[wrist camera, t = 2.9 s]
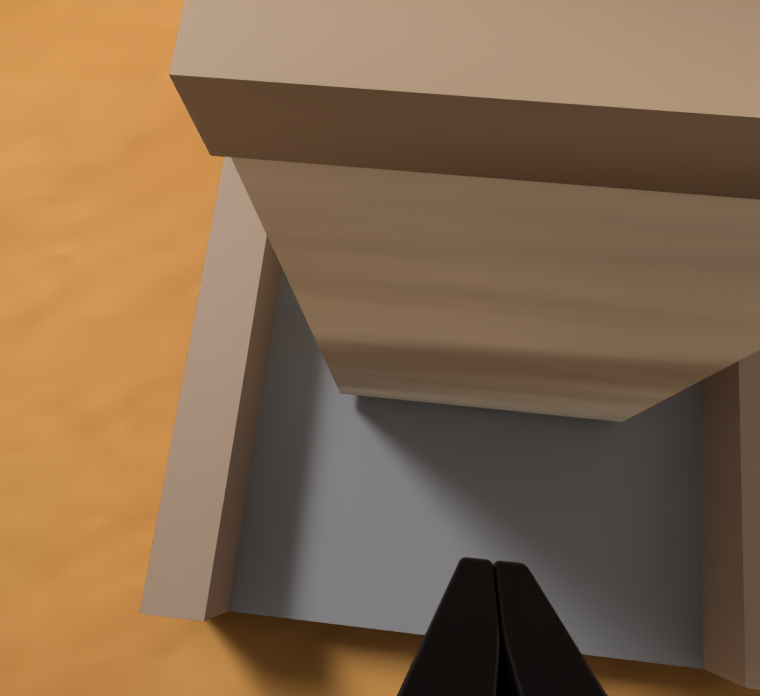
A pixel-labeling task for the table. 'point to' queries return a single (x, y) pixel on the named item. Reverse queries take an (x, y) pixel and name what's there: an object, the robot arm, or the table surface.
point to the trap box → (445, 489)
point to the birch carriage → (498, 188)
